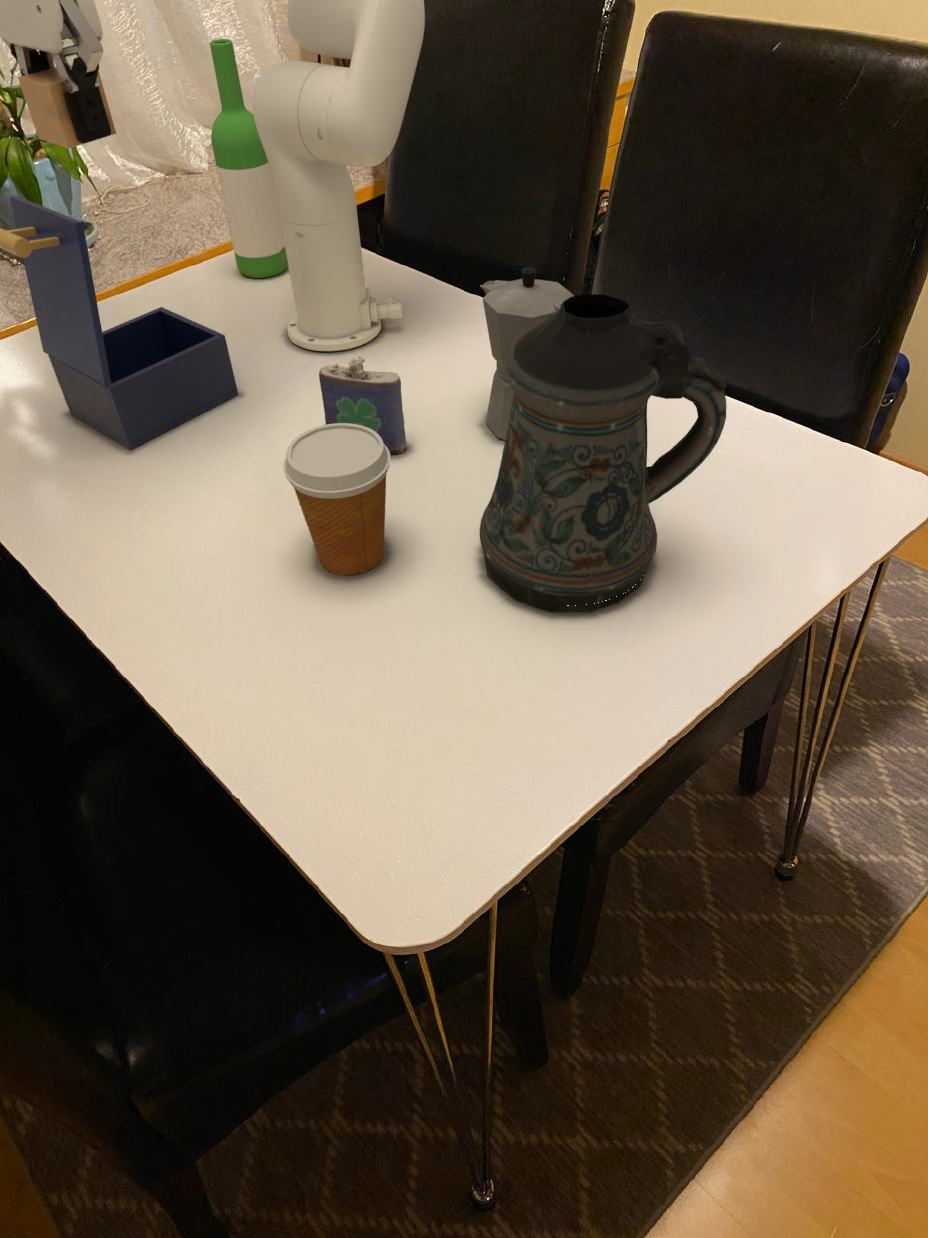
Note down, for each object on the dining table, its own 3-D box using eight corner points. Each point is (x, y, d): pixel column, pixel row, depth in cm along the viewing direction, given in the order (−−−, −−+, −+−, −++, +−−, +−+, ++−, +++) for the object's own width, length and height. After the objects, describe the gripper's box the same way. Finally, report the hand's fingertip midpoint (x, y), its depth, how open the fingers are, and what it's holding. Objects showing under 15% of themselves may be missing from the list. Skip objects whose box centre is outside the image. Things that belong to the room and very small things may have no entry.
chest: (177, 364, 116) (161, 306, 111) (238, 394, 110) (224, 334, 105) (70, 414, 108) (47, 354, 103) (130, 450, 102) (109, 388, 96)
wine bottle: (296, 260, 139) (260, 34, 119) (278, 281, 134) (236, 48, 113) (250, 257, 141) (206, 33, 120) (230, 278, 135) (179, 47, 115)
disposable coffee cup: (304, 528, 90) (283, 424, 82) (399, 520, 91) (388, 416, 82) (300, 591, 83) (277, 484, 75) (402, 582, 84) (390, 475, 75)
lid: (16, 195, 93) (-38, 202, 89) (83, 221, 87) (27, 230, 83) (49, 350, 103) (1, 361, 99) (111, 383, 96) (62, 397, 93)
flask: (409, 444, 101) (401, 356, 93) (401, 458, 99) (392, 369, 91) (333, 434, 103) (319, 347, 95) (323, 448, 101) (308, 361, 93)
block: (86, 124, 84) (67, 63, 81) (116, 133, 82) (98, 71, 79) (38, 139, 82) (17, 76, 78) (68, 148, 79) (48, 84, 76)
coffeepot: (456, 419, 104) (449, 265, 92) (511, 388, 109) (511, 237, 96) (558, 470, 96) (566, 308, 84) (612, 434, 101) (627, 276, 88)
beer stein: (455, 529, 89) (443, 282, 72) (629, 484, 94) (657, 242, 77) (521, 637, 78) (525, 376, 61) (715, 580, 83) (770, 321, 65)
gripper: (101, -127, 67) (167, 138, 80) (-15, -133, 75) (62, 108, 88) (10, -115, 63) (95, 162, 76) (-102, -122, 71) (-9, 129, 84)
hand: (76, 131), depth 82 cm, fingers closed on block, 5 cm apart
